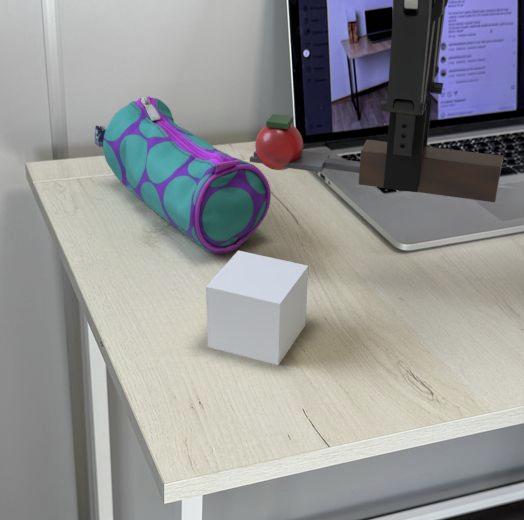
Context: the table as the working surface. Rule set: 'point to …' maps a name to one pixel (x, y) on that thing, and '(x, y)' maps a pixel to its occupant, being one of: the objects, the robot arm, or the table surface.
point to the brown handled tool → (383, 163)
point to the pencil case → (184, 176)
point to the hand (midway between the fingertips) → (403, 179)
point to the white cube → (256, 306)
